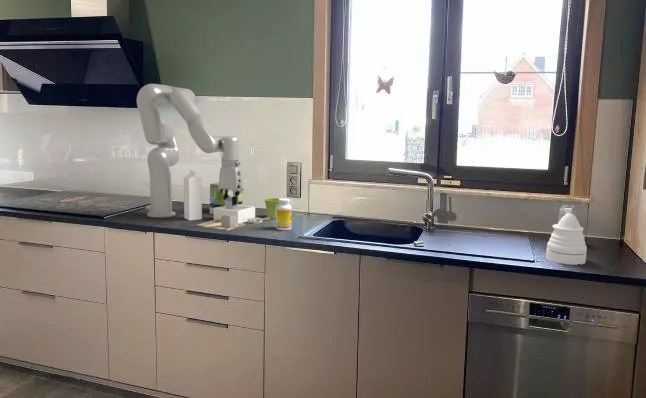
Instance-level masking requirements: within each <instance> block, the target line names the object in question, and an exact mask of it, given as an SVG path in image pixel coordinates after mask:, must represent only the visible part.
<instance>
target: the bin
mask: <svg viewBox="0 0 646 398" xmlns="http://www.w3.org/2000/svg"><path fill="white" fill-rule="evenodd" d="M225 214H232V215H236V223H243V224H244V223H246V222H247V219H249V218H255V217H256V206H251V205H243V204H242V205H239V207H238V208H236V209H235V210H229V209H226V207H225V206H221V207H216V208H214V214H213V220H221V215H225Z"/></svg>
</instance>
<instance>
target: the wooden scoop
mask: <svg viewBox="0 0 646 398" xmlns="http://www.w3.org/2000/svg"><path fill="white" fill-rule="evenodd" d="M266 221H271V219H270V217H256V216H255V218H249V219H247V221H246V222H247V223H249V224H253V225H255V224H261V223H263V222H266Z"/></svg>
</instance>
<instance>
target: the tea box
mask: <svg viewBox="0 0 646 398" xmlns="http://www.w3.org/2000/svg"><path fill="white" fill-rule="evenodd" d="M243 183H244V182H242V187H243V188H244V185H243ZM218 185H219V181H218V182H213V183H209V214H210V215H211V214H213V215H214V208H216V207H221V206H225V204H224V197H223V195H222V193H221V191H220V190H219V189H218V188H217V187H218ZM238 190H239V189H238ZM235 193H236V192H235ZM228 195H229V196H233V192H232V190H228ZM238 205H243V191H242V192H241V193H240V194H239V196H238Z"/></svg>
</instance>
